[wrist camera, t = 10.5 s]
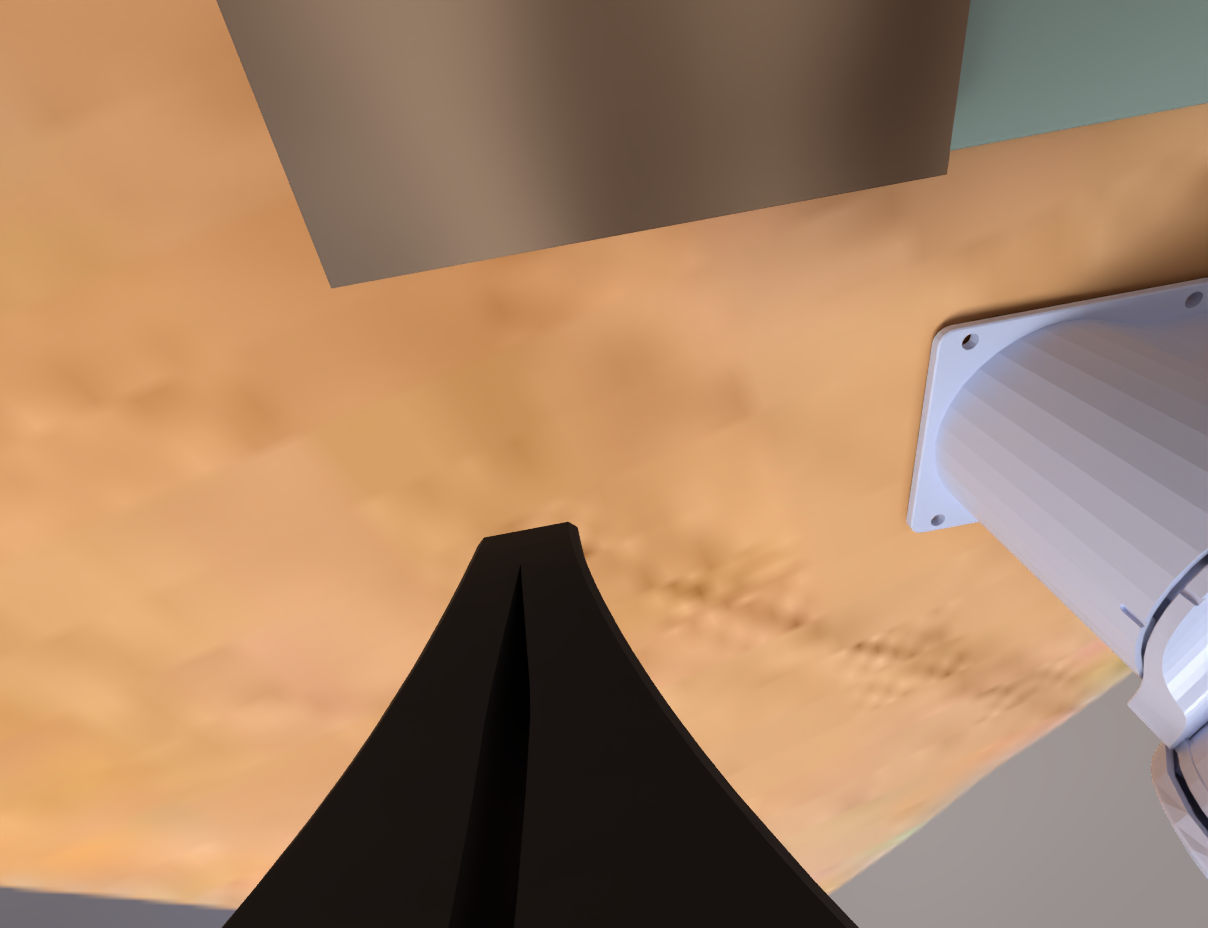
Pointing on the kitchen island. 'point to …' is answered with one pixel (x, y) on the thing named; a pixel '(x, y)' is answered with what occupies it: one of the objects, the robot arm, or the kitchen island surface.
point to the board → (585, 114)
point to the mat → (1076, 64)
